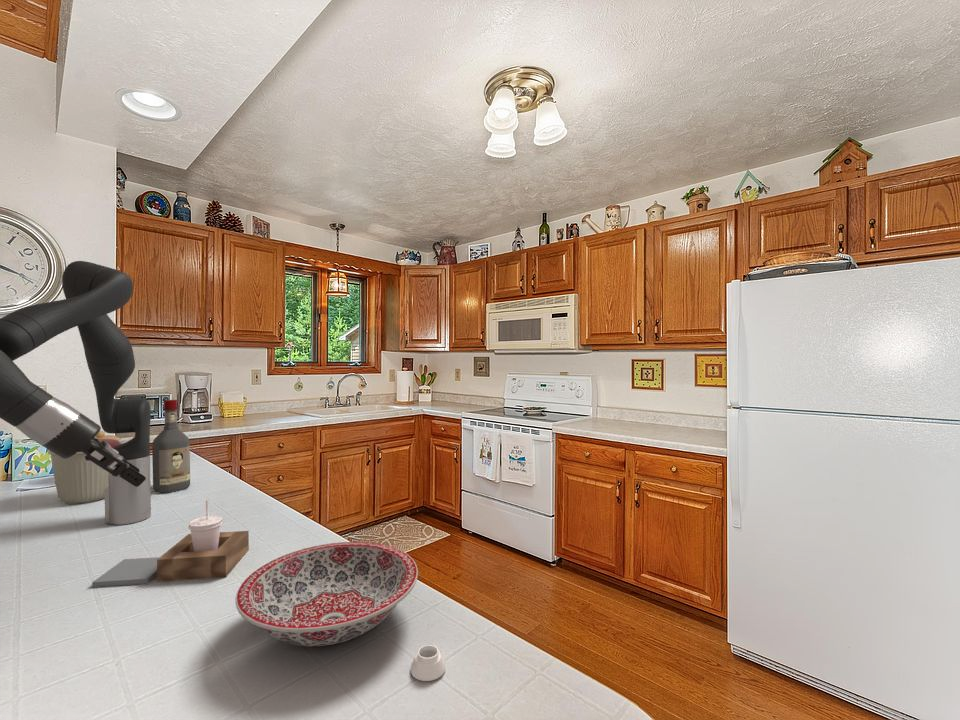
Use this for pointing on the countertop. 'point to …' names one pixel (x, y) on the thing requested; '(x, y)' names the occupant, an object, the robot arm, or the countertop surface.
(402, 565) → the ceramic bowl
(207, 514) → the smoothie
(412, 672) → the lidless jar
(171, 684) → the countertop surface
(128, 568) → the slate coaster
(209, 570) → the frame
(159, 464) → the liquor
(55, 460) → the canister
